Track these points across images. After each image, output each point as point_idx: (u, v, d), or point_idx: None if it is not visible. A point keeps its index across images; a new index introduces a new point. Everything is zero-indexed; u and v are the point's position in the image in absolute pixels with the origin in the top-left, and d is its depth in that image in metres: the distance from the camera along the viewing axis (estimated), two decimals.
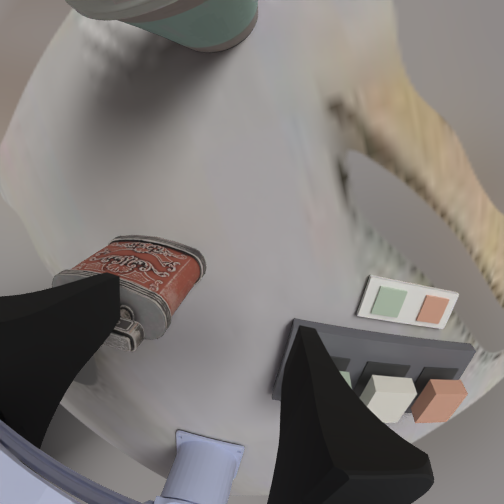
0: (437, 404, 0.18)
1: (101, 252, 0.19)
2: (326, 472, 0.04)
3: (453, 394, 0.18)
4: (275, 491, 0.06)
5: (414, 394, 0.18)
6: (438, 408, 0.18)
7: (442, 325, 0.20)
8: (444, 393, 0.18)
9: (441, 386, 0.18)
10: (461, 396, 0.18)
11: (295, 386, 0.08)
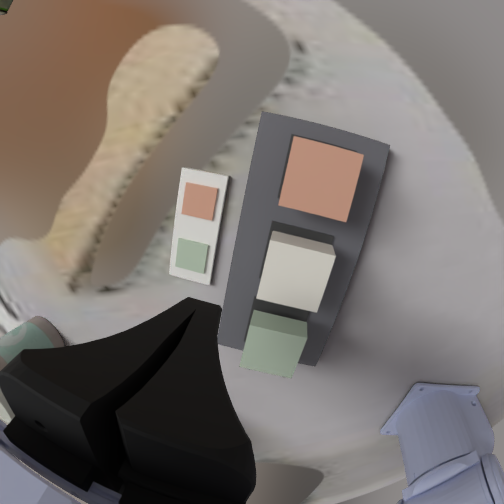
0: (305, 193, 0.15)
1: None
2: None
3: (287, 168, 0.14)
4: None
5: (271, 243, 0.16)
6: (316, 188, 0.15)
7: (223, 178, 0.19)
8: (282, 187, 0.15)
9: None
10: (298, 148, 0.14)
11: None
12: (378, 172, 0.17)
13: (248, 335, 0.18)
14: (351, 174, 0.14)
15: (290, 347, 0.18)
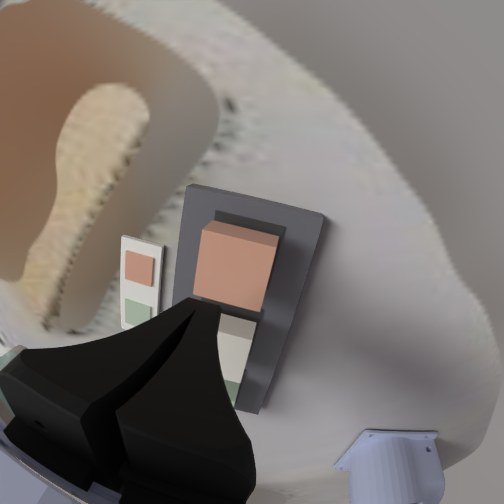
0: (217, 284, 0.15)
1: None
2: None
3: (198, 260, 0.15)
4: None
5: None
6: (227, 280, 0.15)
7: (157, 249, 0.19)
8: (195, 278, 0.15)
9: None
10: (207, 241, 0.14)
11: None
12: (309, 248, 0.17)
13: None
14: (263, 267, 0.14)
15: None
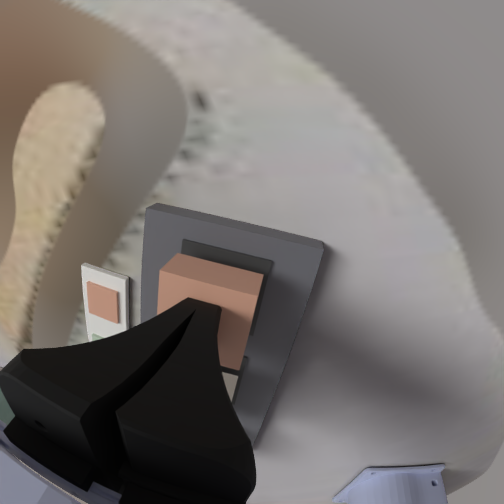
0: None
1: None
2: None
3: (158, 308, 0.11)
4: None
5: None
6: None
7: (121, 281, 0.15)
8: None
9: None
10: (167, 286, 0.11)
11: None
12: (305, 287, 0.13)
13: None
14: (240, 320, 0.11)
15: None
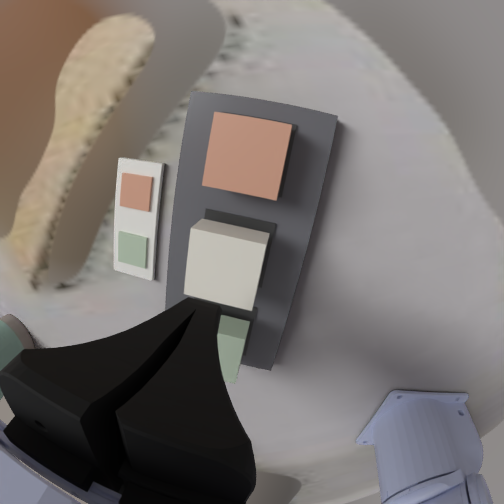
0: (229, 171, 0.14)
1: None
2: None
3: (209, 145, 0.13)
4: None
5: (192, 232, 0.14)
6: (240, 165, 0.13)
7: (157, 166, 0.17)
8: (205, 166, 0.14)
9: None
10: (219, 124, 0.13)
11: None
12: (325, 148, 0.15)
13: None
14: (278, 147, 0.13)
15: (228, 349, 0.16)
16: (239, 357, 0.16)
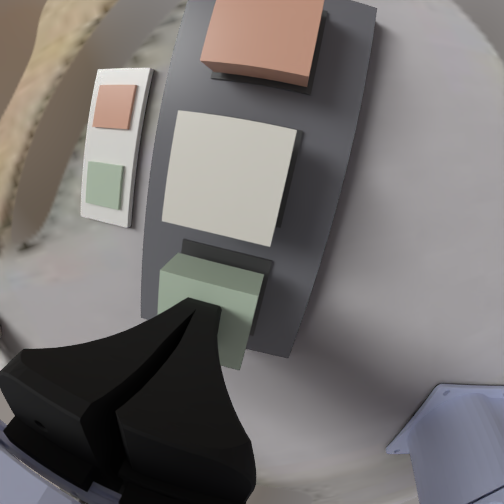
0: (239, 39, 0.08)
1: None
2: None
3: (214, 12, 0.08)
4: None
5: (180, 116, 0.08)
6: (256, 32, 0.08)
7: (144, 72, 0.11)
8: (207, 37, 0.08)
9: None
10: None
11: None
12: (364, 39, 0.09)
13: (160, 290, 0.11)
14: (309, 12, 0.07)
15: (231, 314, 0.11)
16: (248, 327, 0.11)
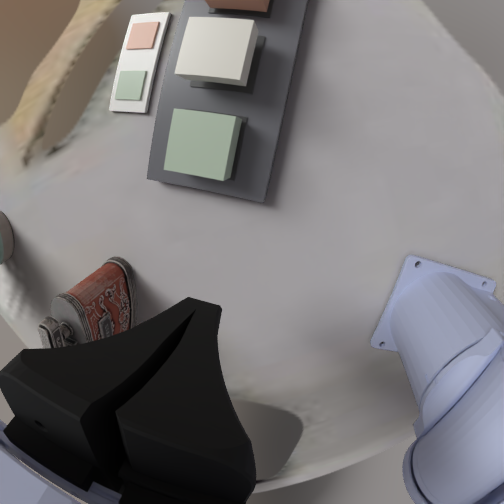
0: None
1: None
2: None
3: None
4: None
5: (190, 19, 0.12)
6: None
7: (164, 14, 0.15)
8: None
9: None
10: None
11: None
12: None
13: (172, 122, 0.15)
14: None
15: (218, 131, 0.15)
16: (229, 140, 0.15)
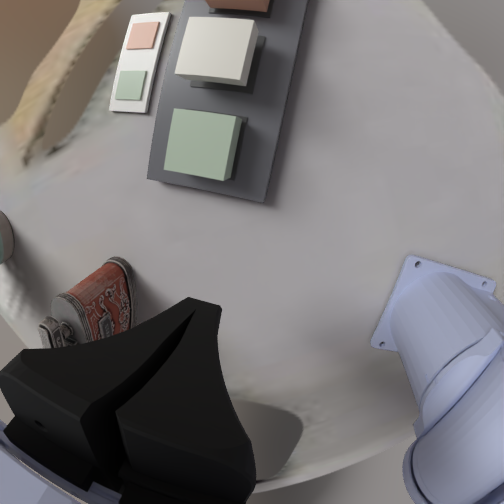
0: None
1: None
2: None
3: None
4: None
5: (190, 19, 0.12)
6: None
7: (164, 14, 0.15)
8: None
9: None
10: None
11: None
12: None
13: (172, 122, 0.15)
14: None
15: (218, 131, 0.15)
16: (229, 140, 0.15)
